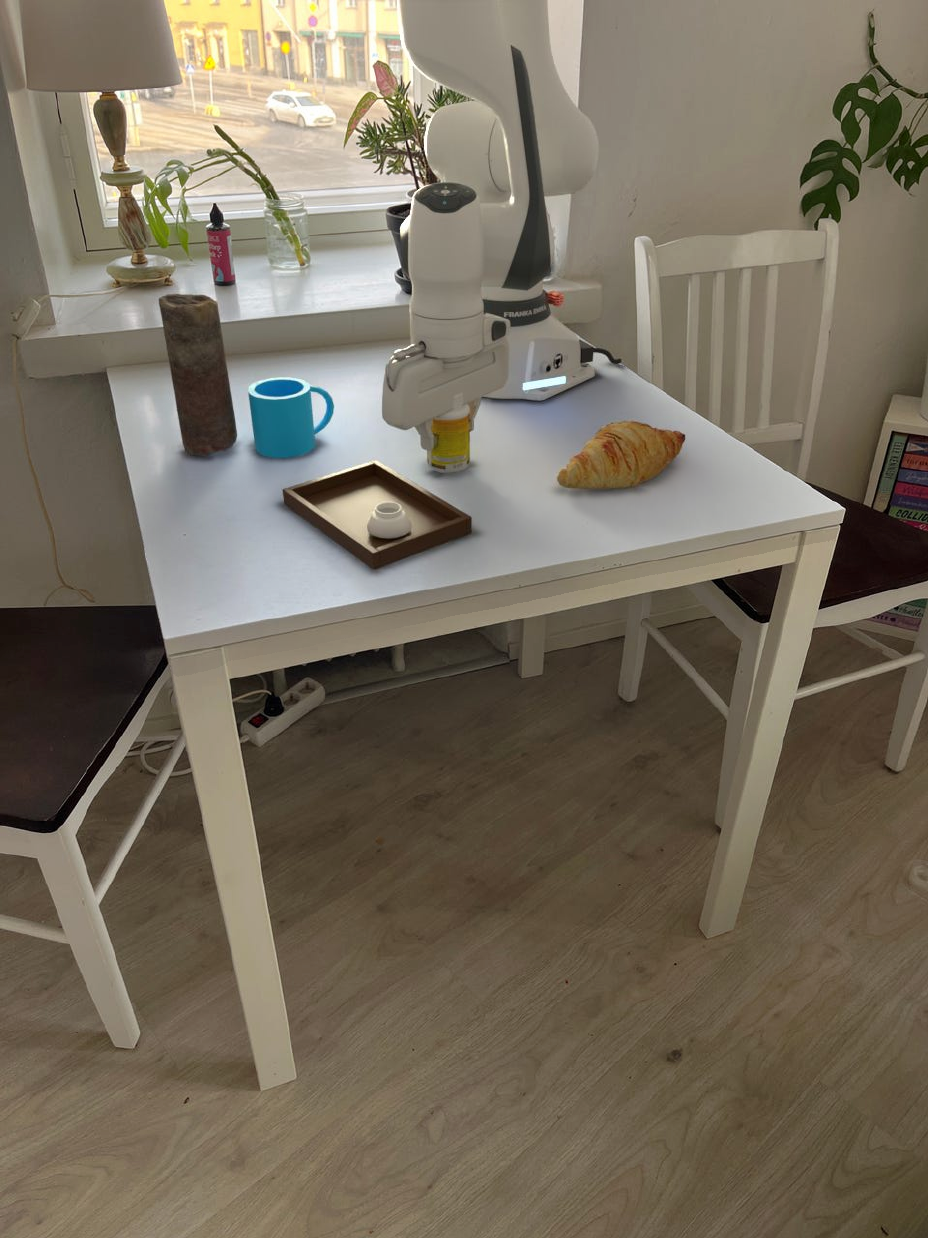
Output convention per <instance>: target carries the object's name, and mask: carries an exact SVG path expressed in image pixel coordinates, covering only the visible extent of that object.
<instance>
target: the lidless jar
mask: <svg viewBox="0 0 928 1238" xmlns="http://www.w3.org/2000/svg"><path fill="white" fill-rule="evenodd" d="M374 510H375V511H373V513H372V515H371V517H370V519H369V521H368V524H367V530H368V532H369V533H370V534H372V535H373V536H376V537H379V538H388V539H389V538H397V537H400V536H403V535H405V534H407V533H408V532H410V530H411V527H412V525H411V522H410V520H409V518H408V516H407V515H406V513H405V511H404V510H402V507H401V505H400V504H398V503H395V502H383V503H380V504H378V505H377V506H376V507H375V509H374Z"/></svg>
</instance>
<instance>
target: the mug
mask: <svg viewBox="0 0 928 1238" xmlns="http://www.w3.org/2000/svg"><path fill="white" fill-rule="evenodd" d="M247 393H248V401H249V402H248V403H249V409H250V416H251V425H252V433H253V442H254V448H255V451H256V452H257V453H258V454H260V455H262V456H264V457H268V458H272V459H289V458H291V459H292V458H296V457H301V456H304V455H306V454H309V453H310V452H311V451H313V450H314V449H315V447H316V436H315V435H317V434H319V433H320V432H321V431H323V430H324V429H325V428H326V427H327V425H328V424H329V423H330V422H331V420H332V417H333V415H334V411H335V404H334V400H333V397H332V396H331V395H330V393H329V392H328V391H327V390H325V389H324V388H322V387H320V386H315V385H311V384H310V383H309V382H308V381H306V380H304V379H301V378H295V377H288V376H287V377H286V376H279V377H278V376H277V377H270V378H265V379H261V380H257V381H255V382H254V383H252V384H250V385H249V387H248V388H247ZM312 393H315V394H316V393H317V394H318V395H320V396H322V398H323V399H324V400H325V404H326V409H325V413H324V415H323V418H322V419H321V420H320V422H319V423H317V425H314V415H313V403H312Z"/></svg>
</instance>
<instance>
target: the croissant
mask: <svg viewBox="0 0 928 1238" xmlns="http://www.w3.org/2000/svg"><path fill="white" fill-rule="evenodd" d="M685 441H686V434H685V433H682V432H681V431H679V430H669V429H660V428H657V427H652V426H651V425H649V424H647V423H645V422H644V423H642V422H639V421H633V420H621V421H618V422H610V423H608V424H605V425H604V426H603V427H601V428H600V429H598V431H596V433H595V435H594V437H593V438H590V439H589V440H588V441H586V444H585V445H584V446H583V448H582V451H581V452H580V453H579V454H576V455H573V456H572V457H571V458H570V459H569V462H568V463H567V464H566V468H562V469H560V470H559V471H558V473H557V477H556V481H557V483H558V485H559V486H561V487H564V488H568V489H577V490H607V489H608V490H611V489H612V490H613V489H623V488H629V487H631V488H634V487H637V486H639V484H640V483H645V482H648V481H649V480H651V479H653V478H654V477H657V476H658V475H659V474H660V473H661V472H662V471H663V469H664V468H666V467H667V465H669V463H671V462H672V461H673V460H674V459H675V458H676V457H677V456H679V454H680V453H681V451H682V448H683V444H684V443H685Z"/></svg>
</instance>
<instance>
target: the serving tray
mask: <svg viewBox="0 0 928 1238" xmlns="http://www.w3.org/2000/svg"><path fill="white" fill-rule="evenodd" d="M281 490H282V499H283V505H284V506H285V507H287V508H288V509H289V510H290V511H292V512H294V513H295V514H296V515H298V516H299V517H300V518H302V519H303V520H304V521H306V522H307V523H309V524H310V525H311V526H312V527H314V528H316V529H317V530H318V531H320V533H323V534H324V535H325V536H326V537H328V538H329V539H331V540H332V541H333V542H334V543H336V544H338V545H339V546H340V547H342V548H343V549H344V550H346V551H347V552H348V553H350V554H351V555H353V556H354V557H355V558H356V559H358V560H359V561H361V562H362V563H363V564H365V565H366V566H368V567H369V568H370V569H372V570H374V571H375V570H378V569H381V568H383V567H386V566H388V565H391V564H394V563H396V562H400V561H401V560H404V559H407V558H409V557H412V556H414V555H417V554H420V553H423V552H425V551H428V550H430V549H433V548H435V547H438V546H440V545H444V544H446V543H448V542H451V541H454V540H457V539H459V538H462V537H464V536H467V535H470V534H472V531H473V529H472V527H473V526H472V525H473V520H472V519H473V517H472V516H471V515H469V514H467V513H465V512H464V511H462V510H461V509H459V508H458V507H456V506H454V505H453V504H451V503H449V502H447V501H445V500H444V499H442V498H441V497H439V496H438V495H436V494H434V493H432V492H431V491H429V490H427V489H425V488H424V487H422V486H420V485H418V484H417V483H415V482H414V481H412V480H410V479H408V478H407V477H405V476H403V475H402V474H400V473H399V472H397V471H395V470H394V469H392V468H390V467H388V466H387V465H385V464H384V463H382V462H380V461H378V460H376V459H374V460H372V461H368V462H365V463H362V464H359V465H355V466H353V467H349V468H346V469H342V470H339V471H336V472H332V473H330V474H327V475H324V476H323V475H322V476H320V477H317V478H313V479H311V480H306V481H305V482H300V483H298V484H293V485H291V486H289V487H285V488H282V489H281ZM383 502H395V503H398V504H400V505H401V507H402V510H404V511H405V513H406V515H407V516H408V518H409V520H410V522H411V525H412V527H411V530H410V532H408V533H407V534H405V535H403V536H400V537H397V538H389V539H388V538H379V537H376V536H373V535H372V534H370V533H369V532H368V530H367V524H368V521H369V519H370V517H371V515H372V513H373V511H375V510H374V509H375V507H376V506H377V505H378V504H380V503H383Z"/></svg>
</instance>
